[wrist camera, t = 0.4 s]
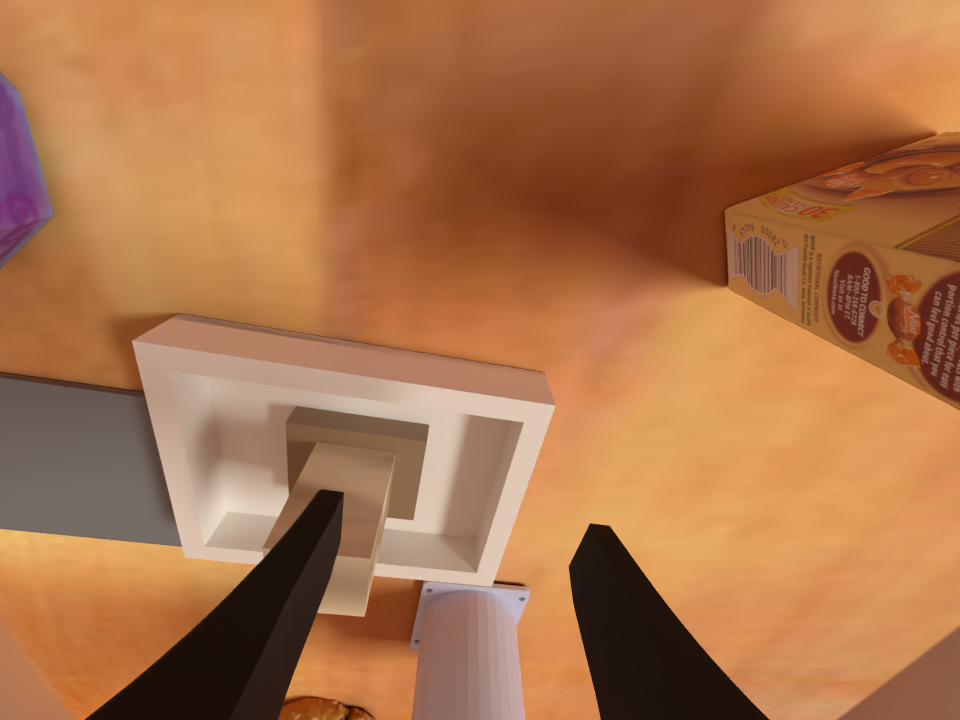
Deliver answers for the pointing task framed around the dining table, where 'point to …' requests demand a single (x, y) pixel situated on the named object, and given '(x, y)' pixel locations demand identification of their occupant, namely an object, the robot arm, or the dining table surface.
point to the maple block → (345, 517)
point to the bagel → (321, 710)
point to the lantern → (19, 177)
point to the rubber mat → (81, 463)
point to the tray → (340, 439)
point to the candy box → (864, 260)
